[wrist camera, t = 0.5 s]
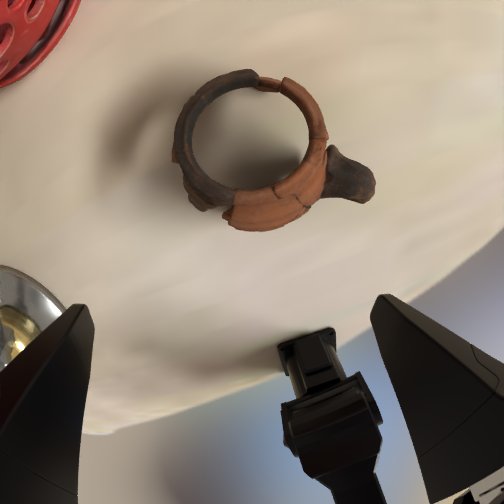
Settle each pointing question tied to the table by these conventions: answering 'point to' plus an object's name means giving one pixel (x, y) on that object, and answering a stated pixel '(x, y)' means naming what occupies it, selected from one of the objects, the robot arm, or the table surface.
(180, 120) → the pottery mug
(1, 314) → the lever valve handle
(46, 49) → the plant pot
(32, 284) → the spindle flange
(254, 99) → the table surface
